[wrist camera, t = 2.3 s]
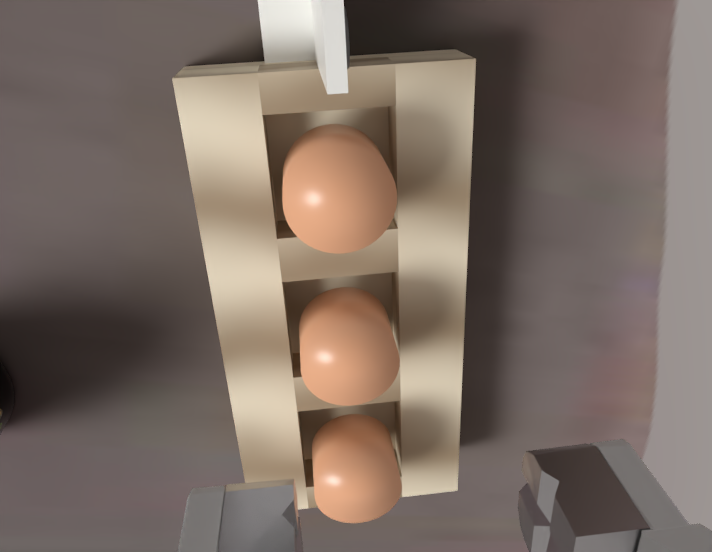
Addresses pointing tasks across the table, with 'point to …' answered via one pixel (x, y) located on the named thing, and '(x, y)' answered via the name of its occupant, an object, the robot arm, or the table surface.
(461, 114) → the wooden egg tray
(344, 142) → the button
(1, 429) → the supplement bottle
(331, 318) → the button mid
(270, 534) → the robot arm
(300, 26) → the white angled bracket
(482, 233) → the table surface
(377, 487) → the button
